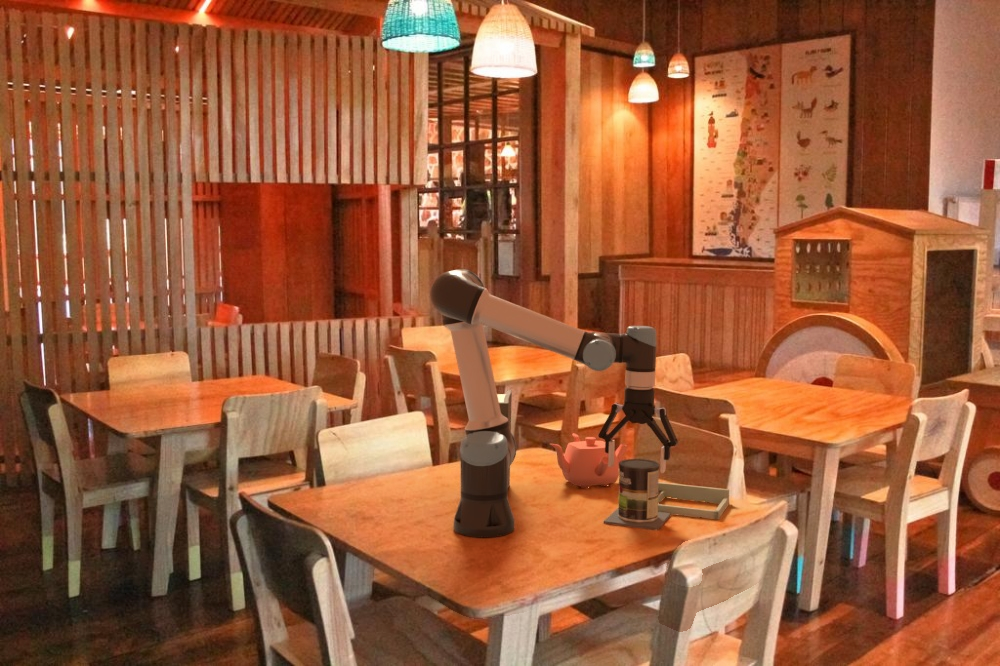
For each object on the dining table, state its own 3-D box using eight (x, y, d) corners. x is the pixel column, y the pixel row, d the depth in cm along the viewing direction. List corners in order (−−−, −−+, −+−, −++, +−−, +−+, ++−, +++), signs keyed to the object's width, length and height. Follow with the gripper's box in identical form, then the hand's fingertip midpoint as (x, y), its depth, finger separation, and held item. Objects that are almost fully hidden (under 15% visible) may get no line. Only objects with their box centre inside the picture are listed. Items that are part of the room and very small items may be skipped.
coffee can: (628, 524, 239) (629, 469, 238) (611, 513, 249) (612, 460, 247) (665, 520, 242) (666, 466, 241) (647, 509, 252) (648, 457, 251)
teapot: (548, 487, 277) (549, 440, 276) (572, 473, 293) (572, 429, 292) (608, 495, 269) (608, 446, 268) (629, 480, 285) (629, 434, 284)
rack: (717, 519, 245) (718, 499, 245) (620, 508, 256) (620, 489, 255) (729, 503, 260) (729, 485, 259) (636, 493, 270) (636, 475, 270)
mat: (657, 530, 236) (657, 527, 236) (603, 523, 242) (603, 521, 242) (670, 515, 249) (670, 512, 249) (619, 509, 255) (619, 506, 255)
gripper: (691, 389, 241) (688, 471, 243) (597, 381, 251) (594, 460, 253) (685, 393, 234) (681, 478, 236) (588, 384, 244) (585, 466, 246)
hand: (636, 469), depth 244 cm, fingers open, 13 cm apart
